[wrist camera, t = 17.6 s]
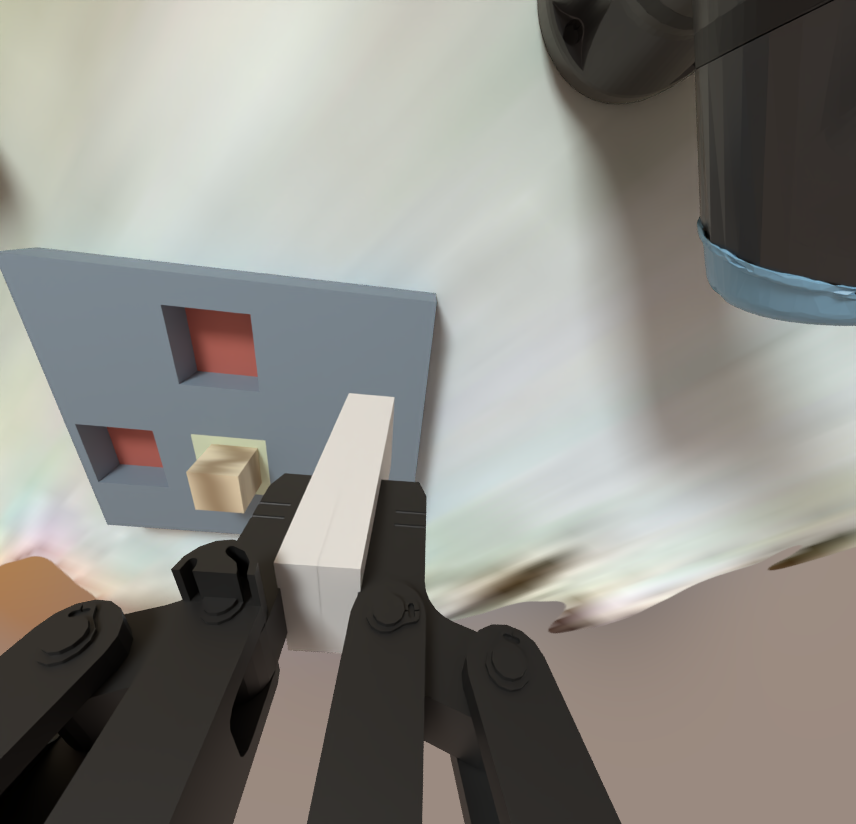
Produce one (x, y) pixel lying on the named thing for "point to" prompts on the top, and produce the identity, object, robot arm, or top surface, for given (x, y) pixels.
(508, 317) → the top surface
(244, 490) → the maple block
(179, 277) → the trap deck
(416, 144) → the top surface
